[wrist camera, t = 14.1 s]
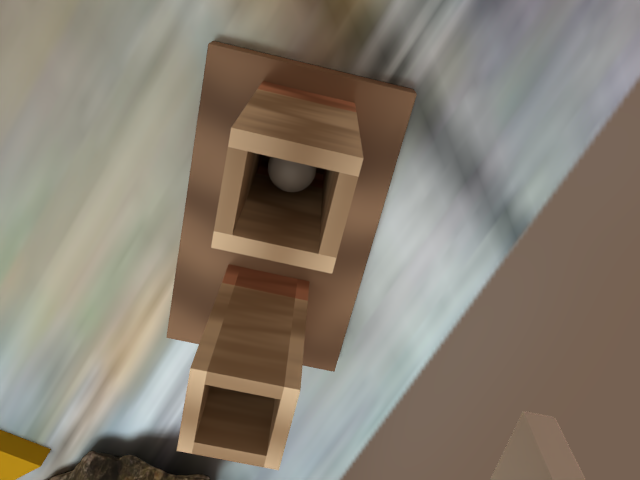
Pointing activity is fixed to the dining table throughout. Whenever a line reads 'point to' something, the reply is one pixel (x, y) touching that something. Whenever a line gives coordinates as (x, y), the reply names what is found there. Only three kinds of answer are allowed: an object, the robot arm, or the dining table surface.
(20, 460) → the star of david
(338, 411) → the dining table surface
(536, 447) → the robot arm
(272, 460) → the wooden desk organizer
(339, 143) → the sleeve
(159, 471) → the rock
